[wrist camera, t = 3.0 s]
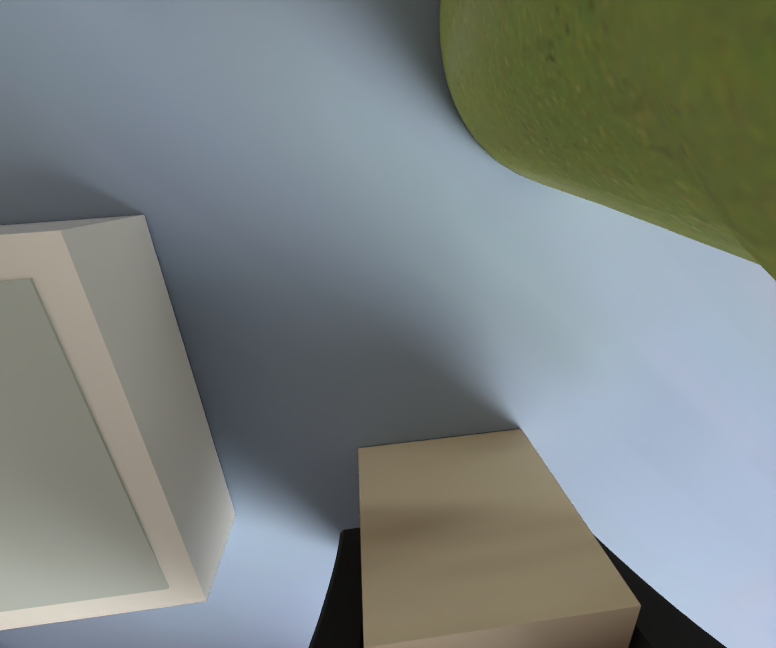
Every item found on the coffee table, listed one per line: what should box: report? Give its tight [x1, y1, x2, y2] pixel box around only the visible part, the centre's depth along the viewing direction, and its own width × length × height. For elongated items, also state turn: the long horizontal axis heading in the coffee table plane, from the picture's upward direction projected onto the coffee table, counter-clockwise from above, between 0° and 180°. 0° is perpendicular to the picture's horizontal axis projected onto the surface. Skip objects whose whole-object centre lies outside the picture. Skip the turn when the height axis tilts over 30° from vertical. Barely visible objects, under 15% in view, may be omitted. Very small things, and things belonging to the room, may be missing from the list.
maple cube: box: [358, 429, 641, 648], centre depth 10 cm, size 5×5×5 cm
